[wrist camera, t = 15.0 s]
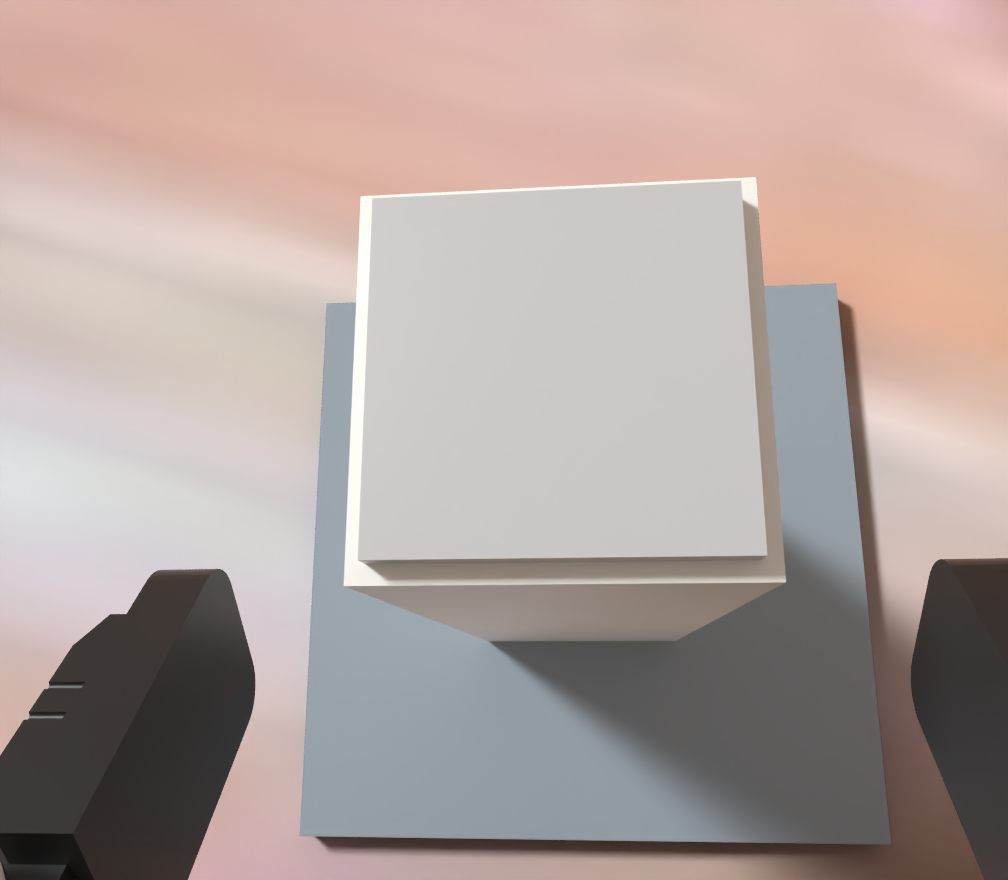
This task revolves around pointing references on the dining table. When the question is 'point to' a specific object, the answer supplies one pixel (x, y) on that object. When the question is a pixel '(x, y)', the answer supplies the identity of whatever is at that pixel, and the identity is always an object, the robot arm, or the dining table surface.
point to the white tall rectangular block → (564, 410)
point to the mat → (614, 671)
